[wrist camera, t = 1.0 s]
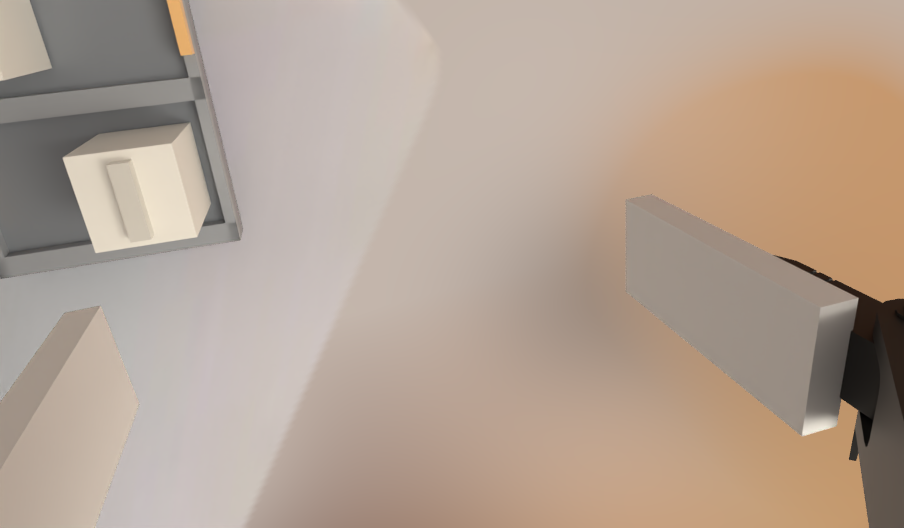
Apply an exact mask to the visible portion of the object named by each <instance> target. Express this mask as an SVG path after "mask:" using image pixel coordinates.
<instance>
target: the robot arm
mask: <svg viewBox="0 0 904 528" xmlns="http://www.w3.org/2000/svg"><path fill="white" fill-rule="evenodd" d="M626 292H627V293H628V294H629V295H631V296H632V297H633V298H634V299H635V300H637V301H638V302H639V303H640V304H641V305H643V306H644V307H645V308H647V309H648V310H649V311H650V312H651V313H652V314H654V315H655V316H656V317H657V318H659V319H660V320H661V321H662V322H663V323H665V324H666V325H667V326H668V327H669V328H671V329H672V330H673V331H674V332H676V333H677V334H678V335H679V336H680V337H682V338H683V339H684V340H685V341H687V342H688V343H689V344H690V345H691V346H693V347H694V348H695V349H696V350H697V351H699V352H700V353H701V354H703V355H704V356H705V357H706V358H707V359H708V360H710V361H711V362H712V363H713V364H715V365H716V366H717V367H718V368H720V369H721V370H722V371H723V372H724V373H726V374H727V375H728V376H729V377H730V378H732V379H733V380H734V381H735V382H736V383H738V384H739V385H740V386H741V387H743V388H744V389H745V390H746V391H747V392H749V393H750V394H751V395H752V396H754V397H755V398H756V399H757V400H758V401H760V402H761V403H762V404H763V405H764V406H766V407H767V408H768V409H769V410H771V411H772V412H773V413H774V414H775V415H777V416H778V417H779V418H780V419H781V420H783V421H784V422H785V423H786V424H788V425H789V426H790V427H791V428H792V429H794V430H795V431H796V432H797V433H799V434H800V435H801V436H805V435H808V434H811V433H815V432H818V431H821V430H825V429H828V428H832V427H835V426H836V425H837V420H838V414H839V409H840V403H841V399H843V400H844V401H846V402H847V403H849V404H850V405H852V406H853V407H854V408H856V409H857V410H858V415H857V419H856V425H855V430H854V436H853V441H852V446H851V451H850V457H849V460H854V461H856V459H857V456H858V453H859V459H860V466H861V473H862V480H863V487H864V494H865V501H866V508H867V515H868V522H869V528H904V299H895V300H890V301H885V302H884V303H881V302H880V301H877V300H875V299H873V298H871V297H869V296H867V295H865V294H863V293H861V292H859V291H857V290H855V289H853V288H851V287H849V286H847V285H845V284H843V283H841V282H839V281H837V280H835V281H833V280H832V278H831V277H828V276H826V275H824V274H822V273H817V272H816V270H814V269H812V268H810V267H808V266H806V265H804V264H802V263H800V262H797V261H794V260H791V259H787V258H783V257H779V256H775V255H772V254H770V253H768V252H766V251H764V250H762V249H760V248H758V247H756V246H754V245H752V244H750V243H748V242H746V241H744V240H742V239H740V238H738V237H736V236H734V235H732V234H730V233H728V232H726V231H724V230H722V229H720V228H718V227H716V226H714V225H712V224H709V223H708V222H706V221H704V220H702V219H700V218H698V217H696V216H694V215H692V214H690V213H688V212H686V211H684V210H682V209H680V208H678V207H676V206H674V205H672V204H670V203H668V202H666V201H664V200H662V199H660V198H658V197H656V196H654V195H652V194H651V195H647V196H641V197H636V198H631V199H626ZM138 407H139V402H138V399H137V397H136V394H135V392H134V389H133V387H132V384H131V381H130V379H129V376H128V374H127V371H126V369H125V366H124V364H123V361H122V359H121V356H120V354H119V351H118V348H117V346H116V343H115V341H114V338H113V336H112V333H111V331H110V328H109V326H108V323H107V320H106V318H105V315H104V313H103V310H102V308H101V306H96V307H91V308H86V309H81V310H76V311H72V312H67V313H64V314H63V316H62V317H61V318H60V320H59V321H58V323H57V324H56V325H55V327H54V328H53V330H52V331H51V332H50V334H49V335H48V337H47V338H46V339H45V341H44V342H43V344H42V345H41V346H40V348H39V349H38V351H37V352H36V353H35V355H34V356H33V358H32V359H31V360H30V362H29V363H28V365H27V366H26V367H25V369H24V370H23V371H22V373H21V374H20V376H19V377H18V378H17V380H16V381H15V383H14V384H13V385H12V387H11V388H10V390H9V391H8V392H7V394H6V395H5V397H4V398H3V399H2V401H1V402H0V528H95V526H96V523H97V520H98V518H99V515H100V512H101V509H102V506H103V504H104V501H105V498H106V495H107V493H108V490H109V487H110V484H111V482H112V479H113V476H114V473H115V470H116V468H117V465H118V462H119V459H120V457H121V454H122V451H123V448H124V446H125V443H126V440H127V437H128V434H129V432H130V429H131V426H132V423H133V421H134V418H135V415H136V412H137V410H138Z"/></svg>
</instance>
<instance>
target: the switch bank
mask: <svg viewBox="0 0 904 528" xmlns="http://www.w3.org/2000/svg"><path fill="white" fill-rule="evenodd" d="M30 3H31V6H32V9H33V12H34V15H35V18H36V21H37V24H38V27H39V30H40V33H41V36H42V39H43V42H44V45H45V48H46V51H47V54H48V57H49V60H50V63H51V66H52V68H51V69H47V70H43V71H39V72H35V73H31V74H27V75H23V76H19V77H15V78H11V79H8V80H3V81H0V278H1V279H2V278H9V277H15V276H21V275H27V274H33V273H40V272H46V271H52V270H58V269H65V268H71V267H77V266H83V265H89V264H96V263H102V262H108V261H114V260H120V259H127V258H133V257H139V256H145V255H152V254H158V253H164V252H170V251H176V250H183V249H189V248H195V247H201V246H207V245H214V244H220V243H226V242H232V241H239V240H241V235H242V231H243V227H242V223H241V219H240V215H239V210H238V206H237V202H236V198H235V194H234V190H233V185H232V181H231V177H230V173H229V169H228V165H227V160H226V156H225V152H224V148H223V144H222V139H221V135H220V131H219V127H218V123H217V119H216V114H215V110H214V106H213V102H212V98H211V94H210V89H209V85H208V81H207V77H206V73H205V69H204V64H203V60H202V56H201V52H200V48H199V44H198V39H197V35H196V31H195V27H194V23H193V19H192V14H191V10H190V6H189V2H188V0H30ZM188 122H190V124H191V127H192V131H193V135H194V139H195V143H196V147H197V151H198V155H199V158H200V162H201V166H202V170H203V174H204V178H205V182H206V186H207V190H208V193H209V197H210V201H211V205H210V207H209V210H208V212H207V214H206V217H205V219H204V222H203V224H202V227H201V229H200V232H199V234H198V236H197V237H195V238H189V239H182V240H176V241H170V242H163V243H157V244H151V245H144V246H138V247H132V248H125V249H119V250H113V251H106V252H100V253H95V250H94V247H93V244H92V241H91V238H90V236H89V233H88V230H87V227H86V224H85V221H84V218H83V215H82V213H81V210H80V207H79V204H78V201H77V198H76V195H75V193H74V190H73V187H72V184H71V181H70V178H69V175H68V172H67V170H66V167H65V164H64V161H63V157H64V156H66V155H67V154H69V153H70V152H72V151H73V150H75V149H76V148H78V147H79V146H81V145H82V144H84V143H85V142H87V141H89V140H90V139H92V138H93V137H95V136H96V135H98V134H101V133H109V132H117V131H125V130H133V129H141V128H149V127H157V126H165V125H172V124H180V123H188Z"/></svg>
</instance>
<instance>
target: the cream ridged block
mask: <svg viewBox="0 0 904 528" xmlns="http://www.w3.org/2000/svg"><path fill="white" fill-rule="evenodd" d="M51 68H52V66H51V63H50V60H49V57H48V54H47V51H46V48H45V45H44V42H43V39H42V36H41V33H40V30H39V27H38V24H37V21H36V18H35V15H34V12H33V9H32V6H31V3H30V0H0V81H3V80H8V79H11V78H15V77H19V76H23V75H27V74H31V73H35V72H39V71H43V70H47V69H51Z"/></svg>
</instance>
